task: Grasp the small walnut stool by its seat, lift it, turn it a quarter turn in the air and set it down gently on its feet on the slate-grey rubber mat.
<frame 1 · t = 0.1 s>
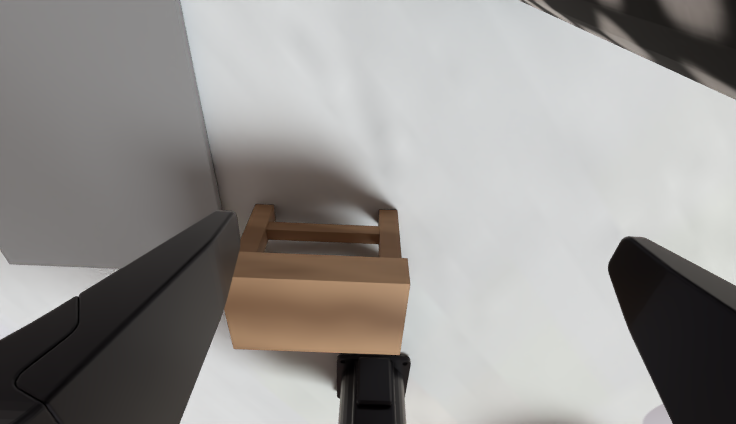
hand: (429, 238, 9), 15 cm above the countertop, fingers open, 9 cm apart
mat: (80, 153, 24), on the countertop
stool: (327, 240, 28), on the countertop
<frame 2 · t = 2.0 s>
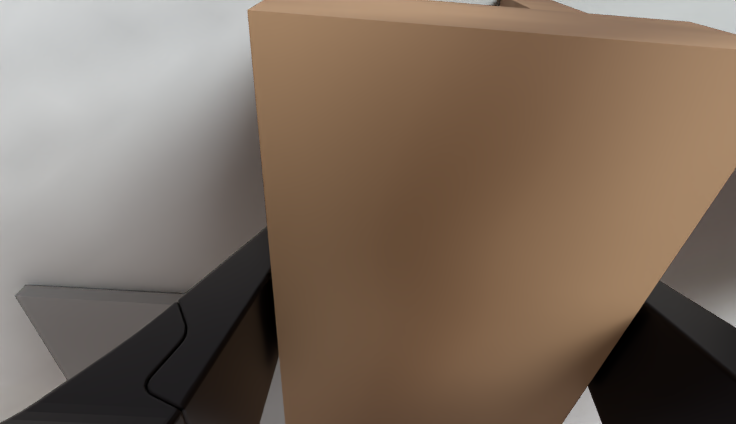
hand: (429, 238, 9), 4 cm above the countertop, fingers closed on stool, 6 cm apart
mat: (262, 402, 21), on the countertop
stool: (413, 156, 13), on the countertop, touching gripper
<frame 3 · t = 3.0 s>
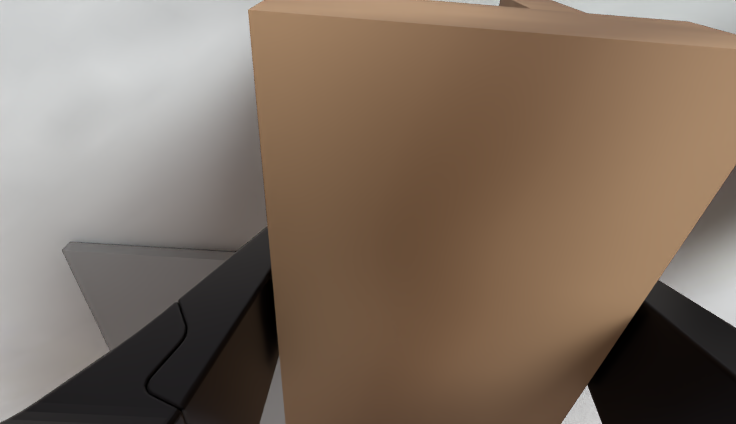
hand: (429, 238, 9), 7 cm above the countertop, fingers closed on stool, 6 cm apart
mat: (275, 357, 23), on the countertop
stool: (413, 156, 13), point 3 cm above the countertop, touching gripper
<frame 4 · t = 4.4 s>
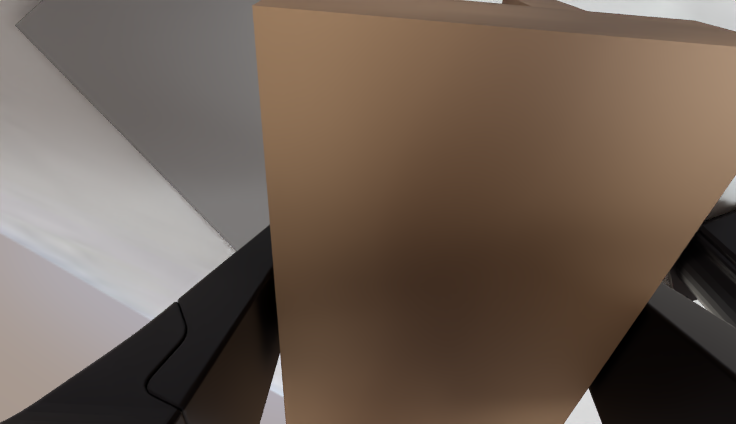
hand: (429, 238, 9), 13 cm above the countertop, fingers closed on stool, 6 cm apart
mat: (275, 102, 21), on the countertop
stool: (415, 155, 13), point 9 cm above the countertop, touching gripper
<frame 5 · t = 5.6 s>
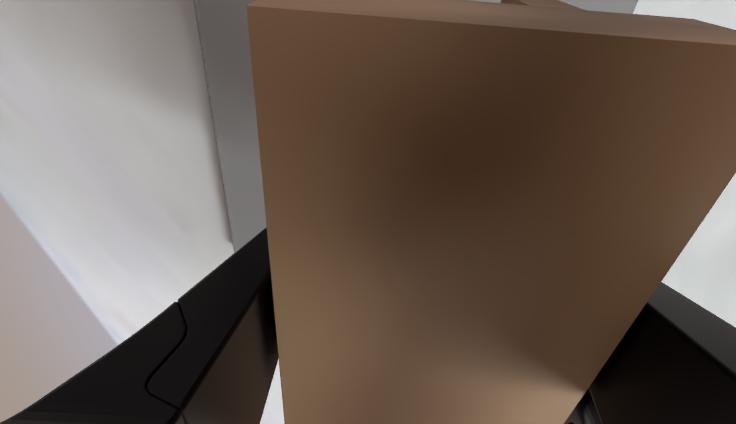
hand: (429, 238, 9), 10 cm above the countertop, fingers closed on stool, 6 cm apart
mat: (401, 97, 17), on the countertop
stool: (414, 155, 13), point 5 cm above the countertop, touching gripper
when the fingers open (6 cm above the countertop, at t = 6.7 s): stool stays where it is, resting on mat.
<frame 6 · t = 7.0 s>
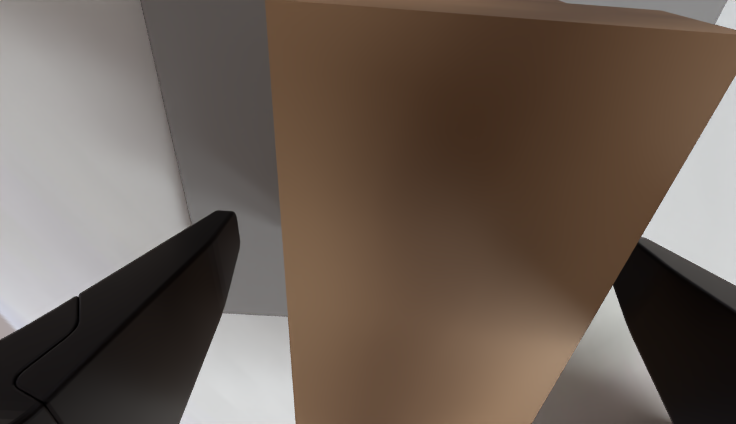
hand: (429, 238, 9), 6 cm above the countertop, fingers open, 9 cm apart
mat: (409, 137, 14), on the countertop
stool: (413, 145, 13), point 1 cm above the countertop, touching mat
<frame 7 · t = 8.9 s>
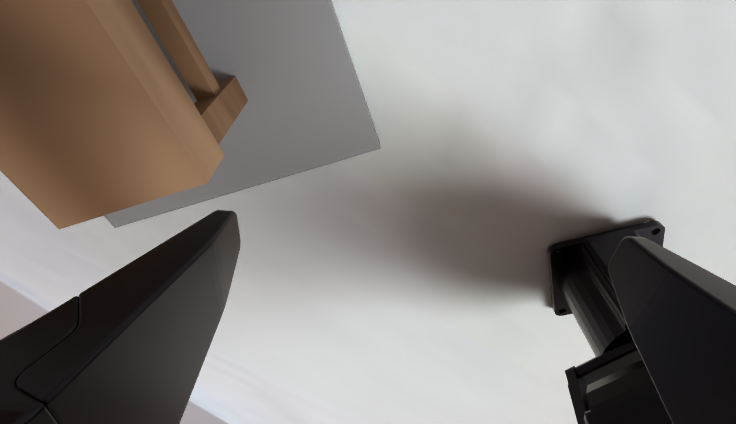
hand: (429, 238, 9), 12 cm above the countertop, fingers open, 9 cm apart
mat: (138, 14, 17), on the countertop
stool: (133, 16, 17), point 1 cm above the countertop, touching mat
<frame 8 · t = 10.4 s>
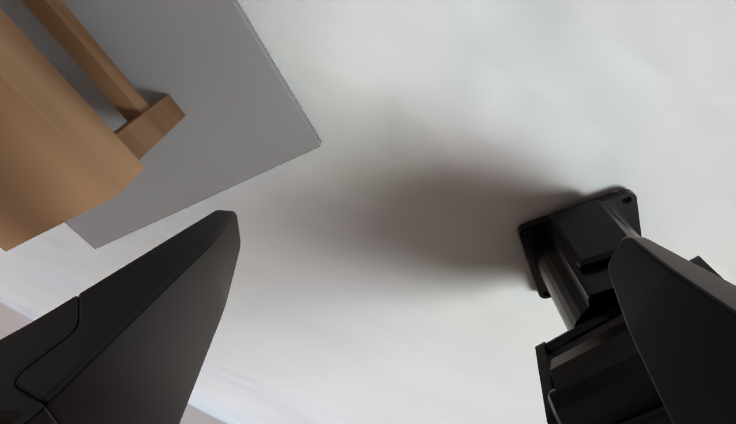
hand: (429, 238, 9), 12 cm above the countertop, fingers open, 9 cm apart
mat: (74, 48, 18), on the countertop
stool: (67, 51, 18), point 1 cm above the countertop, touching mat
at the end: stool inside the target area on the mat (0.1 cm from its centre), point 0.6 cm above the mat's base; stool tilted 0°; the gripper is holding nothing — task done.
